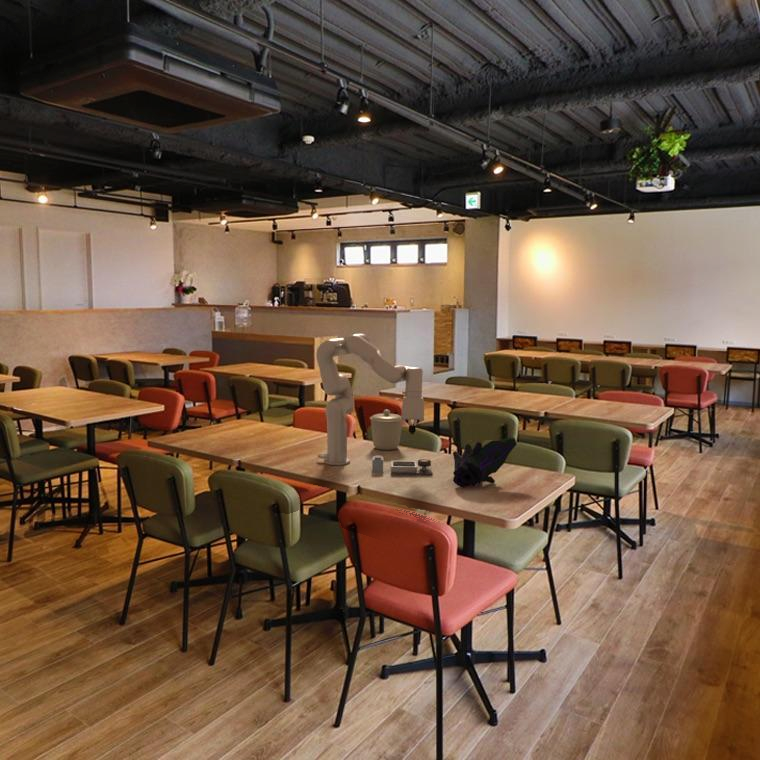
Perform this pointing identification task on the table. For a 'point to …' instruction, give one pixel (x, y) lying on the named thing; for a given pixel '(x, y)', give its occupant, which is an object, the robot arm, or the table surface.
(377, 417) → the canister
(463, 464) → the decorative plant
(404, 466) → the chassis
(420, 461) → the wheel
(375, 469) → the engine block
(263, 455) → the table surface
